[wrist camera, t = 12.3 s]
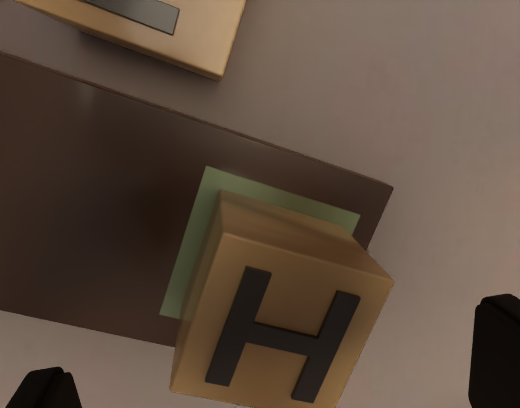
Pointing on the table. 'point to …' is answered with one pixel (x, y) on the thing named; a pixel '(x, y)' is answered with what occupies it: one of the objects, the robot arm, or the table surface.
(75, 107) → the word board
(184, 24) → the tile
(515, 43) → the table surface
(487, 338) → the robot arm
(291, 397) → the tile
